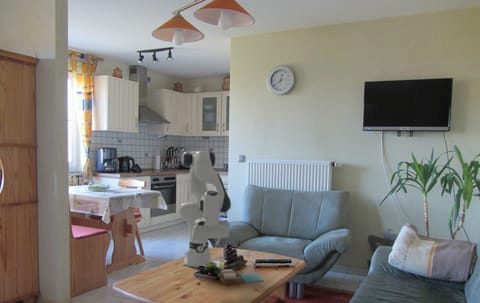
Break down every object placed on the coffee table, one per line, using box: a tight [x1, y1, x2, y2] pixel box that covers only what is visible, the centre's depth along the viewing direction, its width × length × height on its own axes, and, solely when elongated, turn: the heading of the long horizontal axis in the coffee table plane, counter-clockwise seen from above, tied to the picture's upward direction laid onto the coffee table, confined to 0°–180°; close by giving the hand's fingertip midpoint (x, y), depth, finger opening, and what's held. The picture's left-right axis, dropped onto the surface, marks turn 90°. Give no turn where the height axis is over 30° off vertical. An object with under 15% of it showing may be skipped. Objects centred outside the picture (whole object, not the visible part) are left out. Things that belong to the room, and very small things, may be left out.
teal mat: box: [239, 272, 264, 283], centre depth 213 cm, size 12×10×1 cm
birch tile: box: [220, 268, 236, 279], centre depth 208 cm, size 9×6×2 cm, turn 16°
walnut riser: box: [219, 270, 244, 286], centre depth 209 cm, size 14×11×2 cm
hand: (210, 246), depth 205 cm, fingers open, 5 cm apart
